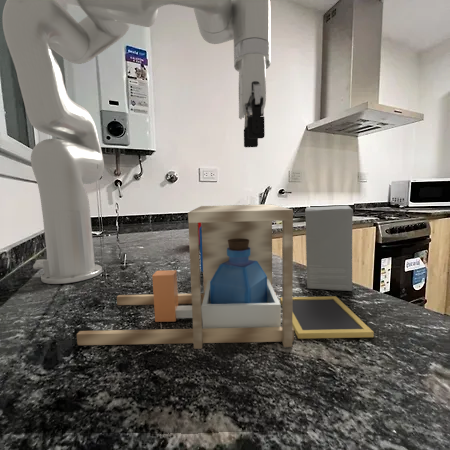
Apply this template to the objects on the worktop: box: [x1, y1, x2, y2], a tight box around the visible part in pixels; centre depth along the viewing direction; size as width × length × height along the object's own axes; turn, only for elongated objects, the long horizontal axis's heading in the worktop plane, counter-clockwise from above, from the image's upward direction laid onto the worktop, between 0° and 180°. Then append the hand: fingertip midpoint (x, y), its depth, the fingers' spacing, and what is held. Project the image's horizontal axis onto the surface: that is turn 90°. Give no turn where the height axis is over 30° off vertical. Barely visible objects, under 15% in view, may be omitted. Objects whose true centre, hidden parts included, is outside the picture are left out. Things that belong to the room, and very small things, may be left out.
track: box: [76, 291, 295, 346], centre depth 39 cm, size 28×13×2 cm, turn 89°
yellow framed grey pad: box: [279, 295, 375, 340], centre depth 39 cm, size 10×12×1 cm
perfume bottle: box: [210, 238, 267, 304], centre depth 39 cm, size 6×6×12 cm
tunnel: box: [187, 203, 294, 350], centre depth 38 cm, size 12×15×17 cm
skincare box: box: [304, 205, 354, 292], centre depth 51 cm, size 8×7×16 cm
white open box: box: [151, 269, 282, 329], centre depth 39 cm, size 18×10×7 cm, turn 89°
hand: (253, 142), depth 56 cm, fingers open, 9 cm apart
